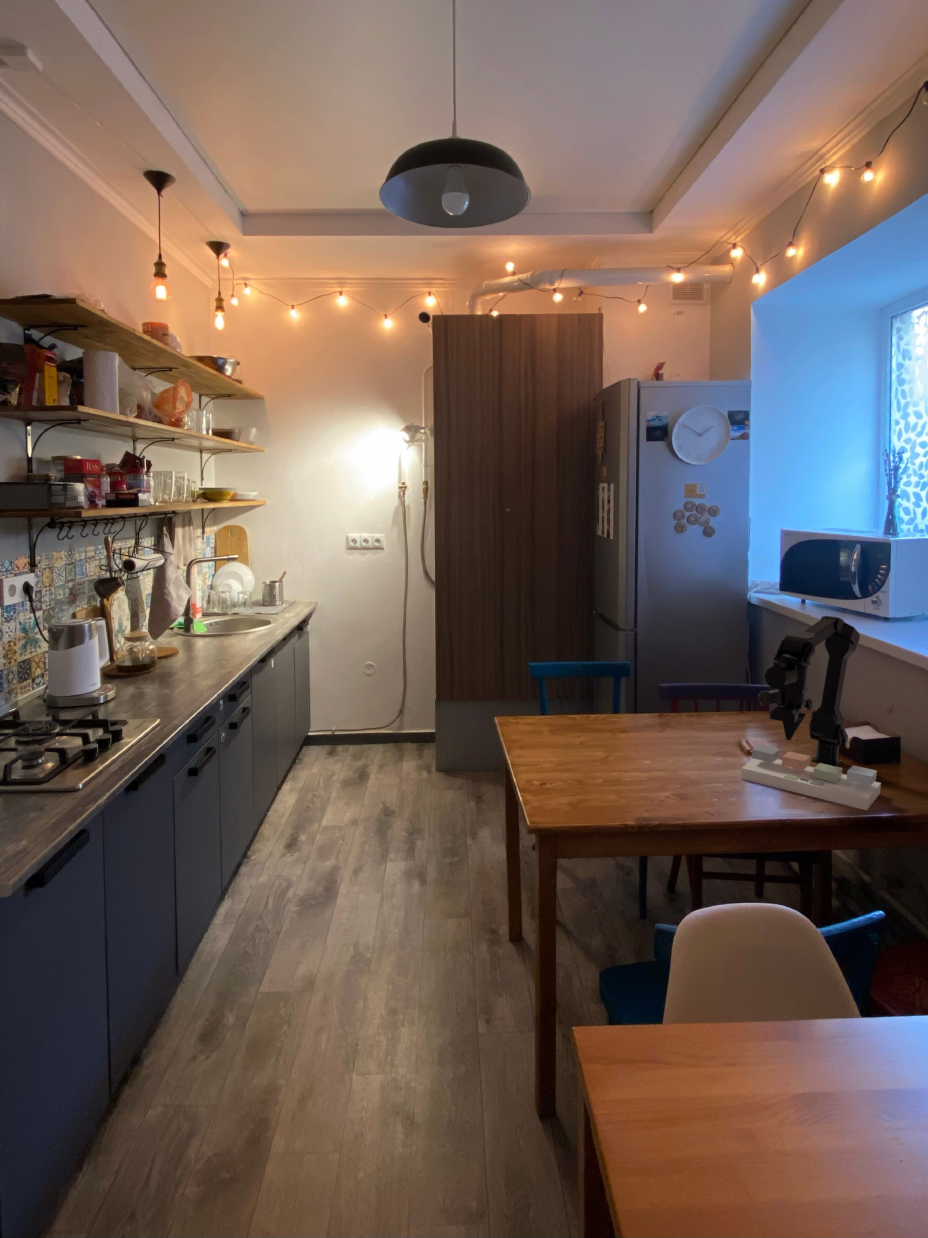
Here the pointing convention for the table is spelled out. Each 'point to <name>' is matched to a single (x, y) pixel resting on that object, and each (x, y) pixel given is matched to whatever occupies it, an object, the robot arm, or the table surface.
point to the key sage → (827, 772)
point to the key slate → (765, 753)
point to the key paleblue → (861, 775)
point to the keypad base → (811, 783)
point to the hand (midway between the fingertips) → (788, 739)
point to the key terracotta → (796, 760)
